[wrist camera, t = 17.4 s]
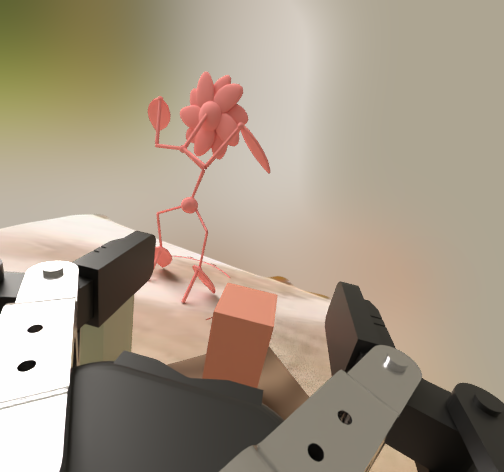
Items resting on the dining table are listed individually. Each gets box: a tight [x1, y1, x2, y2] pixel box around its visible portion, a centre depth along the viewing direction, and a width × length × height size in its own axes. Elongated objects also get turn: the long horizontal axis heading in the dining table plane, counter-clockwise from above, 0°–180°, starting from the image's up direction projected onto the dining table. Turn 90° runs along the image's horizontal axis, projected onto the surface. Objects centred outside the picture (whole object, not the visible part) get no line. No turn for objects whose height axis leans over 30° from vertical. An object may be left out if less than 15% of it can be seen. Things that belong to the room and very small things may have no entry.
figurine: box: [148, 72, 270, 320], centre depth 47 cm, size 15×26×35 cm, turn 57°
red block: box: [202, 283, 277, 388], centre depth 27 cm, size 5×5×12 cm
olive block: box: [80, 295, 134, 365], centre depth 29 cm, size 5×5×12 cm
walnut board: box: [167, 346, 309, 420], centre depth 29 cm, size 16×14×2 cm
